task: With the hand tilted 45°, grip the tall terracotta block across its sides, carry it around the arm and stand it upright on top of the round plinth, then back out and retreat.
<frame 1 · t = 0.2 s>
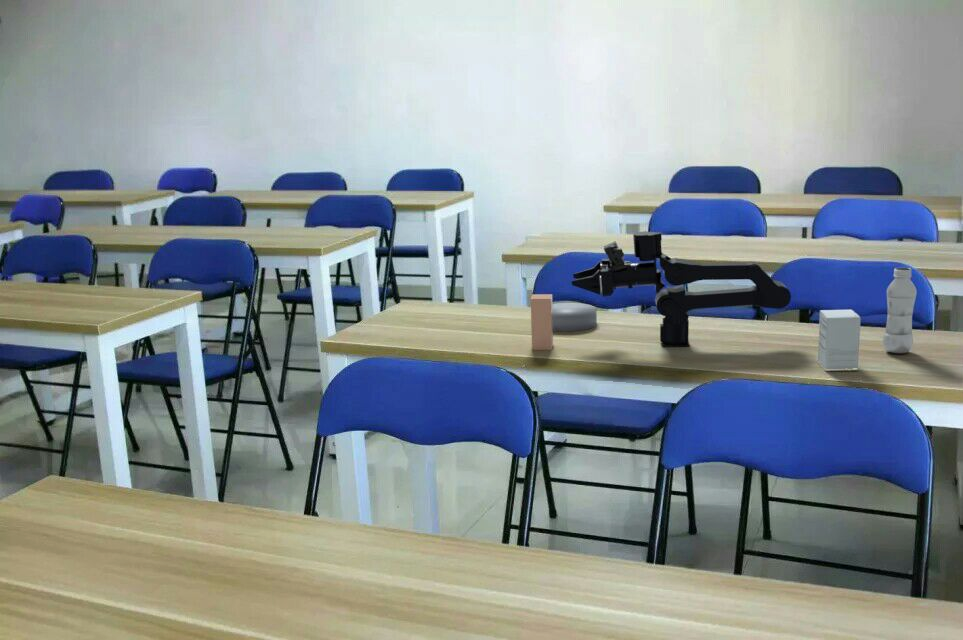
hand: (572, 279, 250), 17 cm above the table, tool horizontal, fingers open, 9 cm apart
plastic bottle: (897, 353, 236), on the table
plinth: (567, 323, 274), on the table
supplement box: (837, 368, 227), on the table
terracotta block: (542, 346, 252), on the table
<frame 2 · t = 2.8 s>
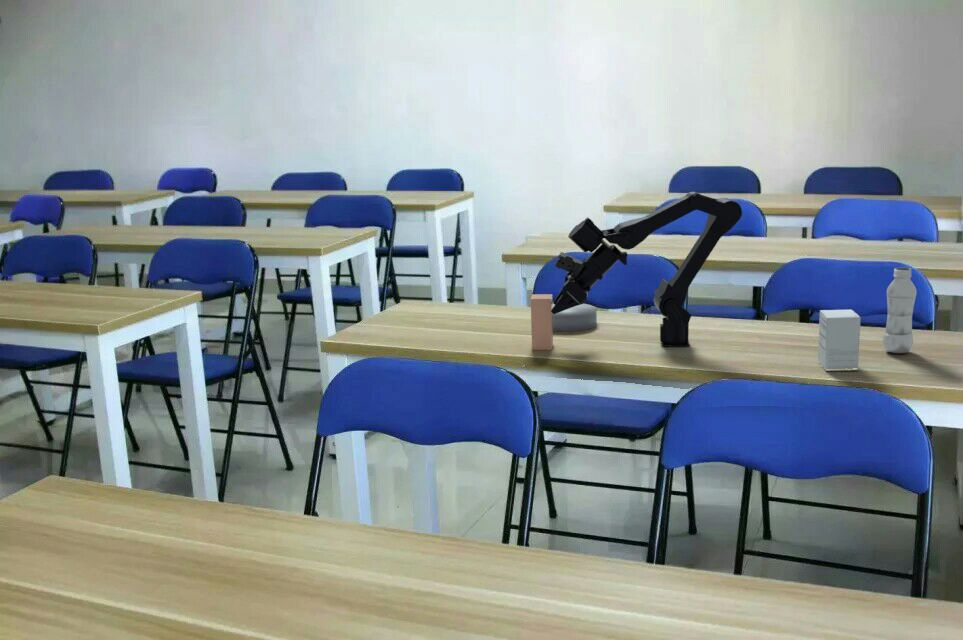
hand: (553, 308, 249), 10 cm above the table, tool tilted 45°, fingers open, 9 cm apart
nothing on the table moved.
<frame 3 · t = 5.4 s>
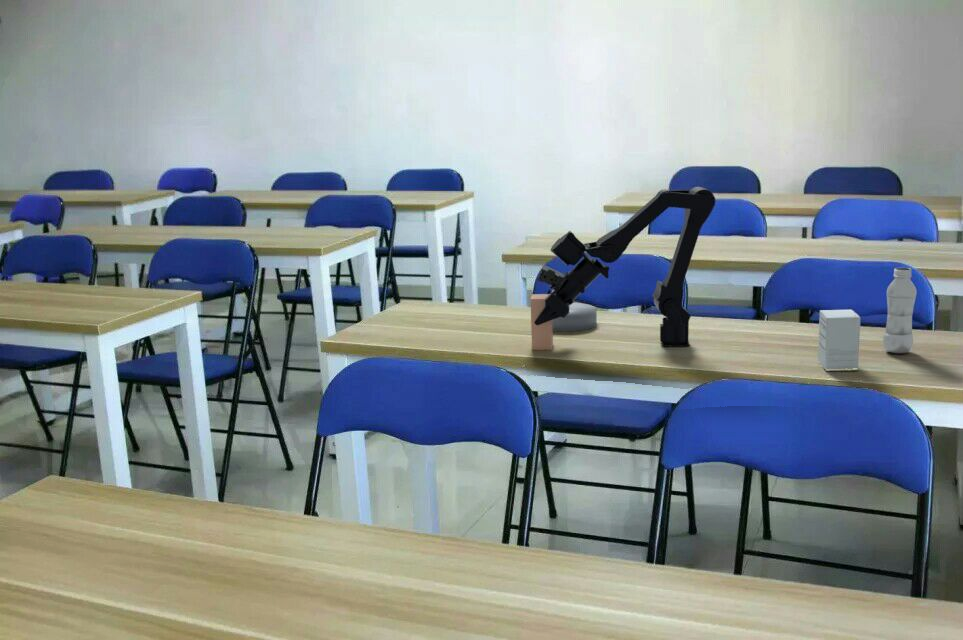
hand: (536, 321, 251), 7 cm above the table, tool tilted 45°, fingers closed on terracotta block, 5 cm apart
terracotta block: (542, 346, 252), on the table, touching gripper
everything else where it was.
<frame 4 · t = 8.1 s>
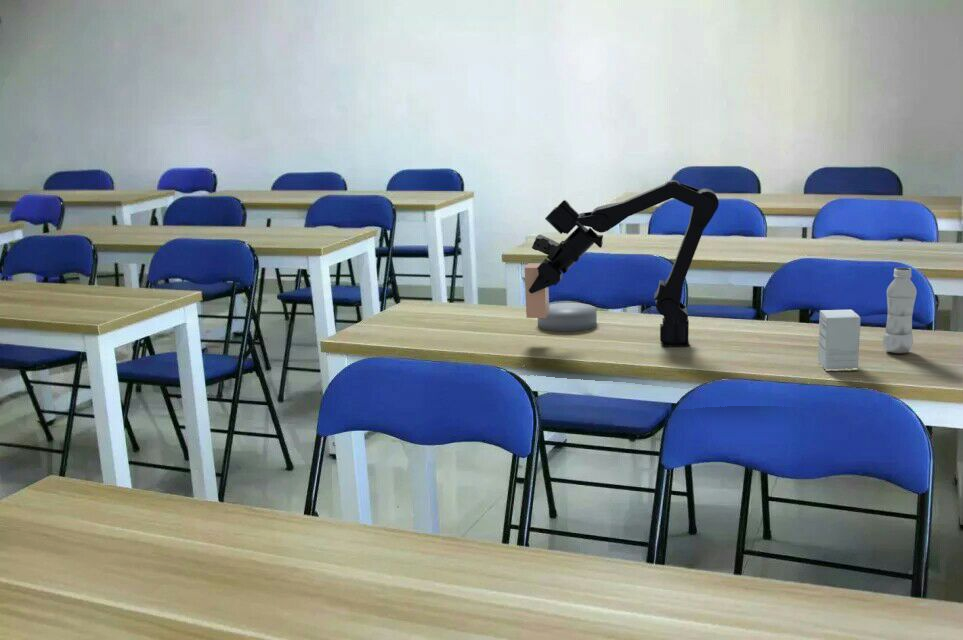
hand: (531, 289, 254), 14 cm above the table, tool tilted 45°, fingers closed on terracotta block, 5 cm apart
terracotta block: (538, 315, 255), point 7 cm above the table, touching gripper
everything else where it was.
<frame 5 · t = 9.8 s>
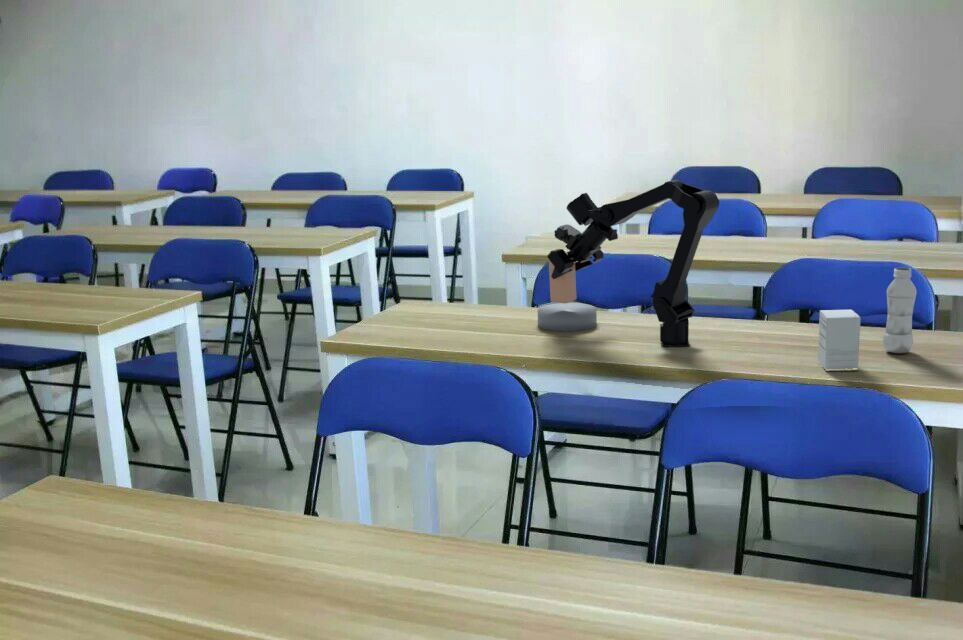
hand: (558, 276, 270), 13 cm above the table, tool tilted 45°, fingers closed on terracotta block, 5 cm apart
terracotta block: (563, 300, 271), point 7 cm above the table, touching gripper
everything else where it was.
when the fingers open (11 cm above the table, at t = 11.1 s): terracotta block stays where it is, resting on plinth.
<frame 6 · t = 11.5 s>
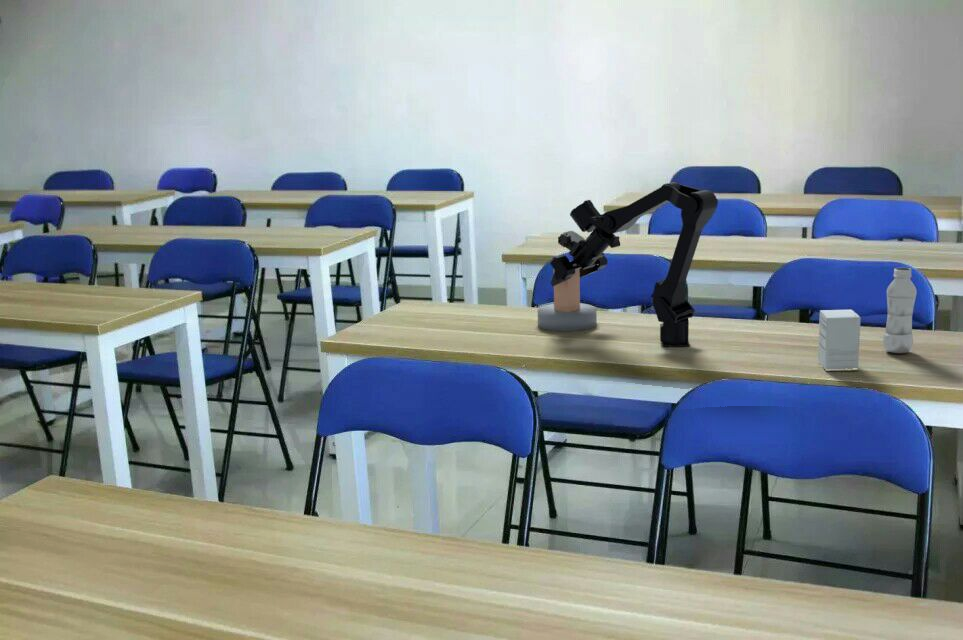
hand: (562, 281, 272), 12 cm above the table, tool tilted 45°, fingers open, 9 cm apart
terracotta block: (567, 309, 273), point 4 cm above the table, touching plinth
everything else where it was.
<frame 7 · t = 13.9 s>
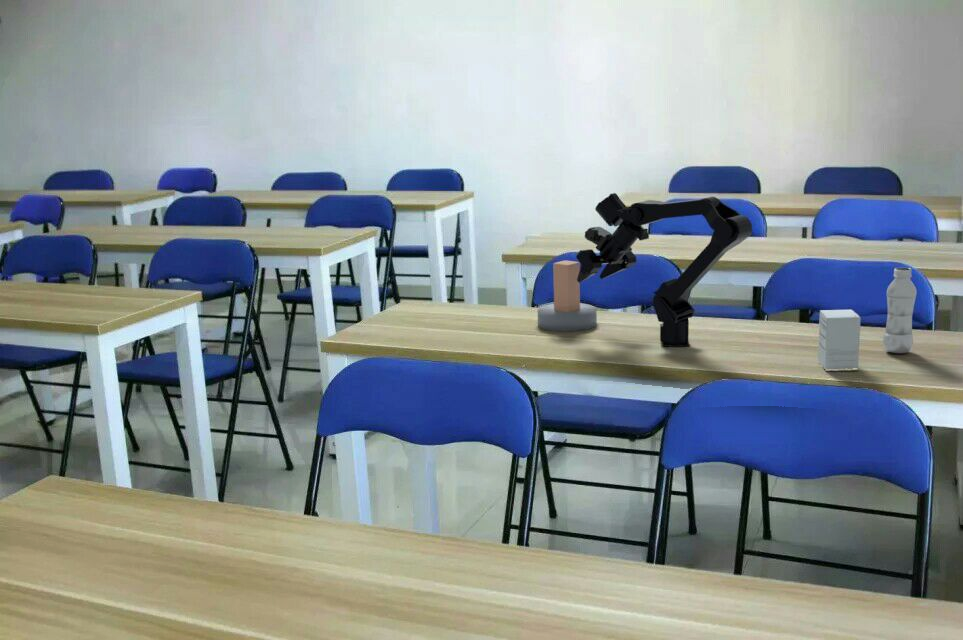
hand: (589, 279, 265), 13 cm above the table, tool tilted 40°, fingers open, 9 cm apart
nothing on the table moved.
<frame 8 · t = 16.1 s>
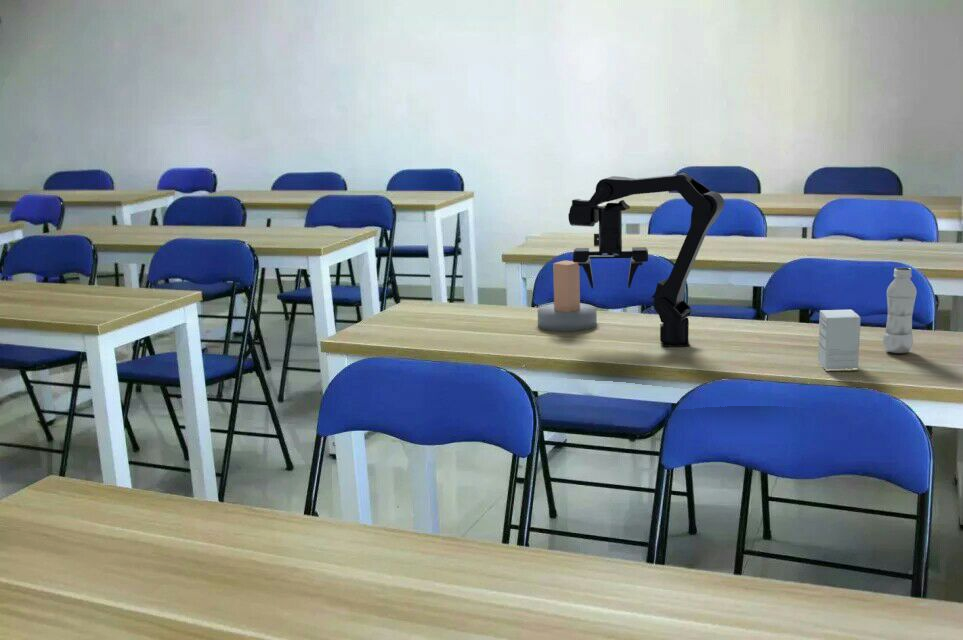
hand: (610, 288, 255), 13 cm above the table, tool pointing down, fingers open, 9 cm apart
nothing on the table moved.
at the end: terracotta block inside the target area on the plinth (0.1 cm from its centre), point 4.0 cm above the plinth's base; terracotta block tilted 0°; the gripper is holding nothing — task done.
